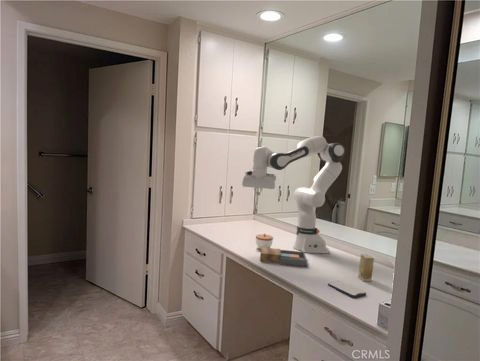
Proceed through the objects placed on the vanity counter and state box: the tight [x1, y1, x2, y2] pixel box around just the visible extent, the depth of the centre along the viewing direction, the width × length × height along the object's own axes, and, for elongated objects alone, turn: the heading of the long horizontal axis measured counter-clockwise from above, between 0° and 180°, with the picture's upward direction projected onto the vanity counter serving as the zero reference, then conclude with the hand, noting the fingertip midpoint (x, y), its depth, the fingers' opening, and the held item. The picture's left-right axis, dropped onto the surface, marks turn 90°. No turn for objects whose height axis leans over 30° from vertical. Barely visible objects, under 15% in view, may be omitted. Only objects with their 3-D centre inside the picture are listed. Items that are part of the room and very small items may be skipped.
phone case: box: [327, 280, 367, 299], centre depth 156 cm, size 9×2×16 cm
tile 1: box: [290, 254, 299, 259], centre depth 192 cm, size 5×5×2 cm
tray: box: [279, 249, 308, 268], centre depth 193 cm, size 14×16×4 cm
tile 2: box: [281, 253, 290, 259], centre depth 193 cm, size 5×5×2 cm
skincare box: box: [357, 253, 375, 283], centre depth 170 cm, size 6×4×12 cm
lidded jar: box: [255, 233, 274, 250], centre depth 213 cm, size 11×11×9 cm
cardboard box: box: [259, 247, 282, 264], centre depth 194 cm, size 11×12×4 cm
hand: (257, 195), depth 212 cm, fingers closed
